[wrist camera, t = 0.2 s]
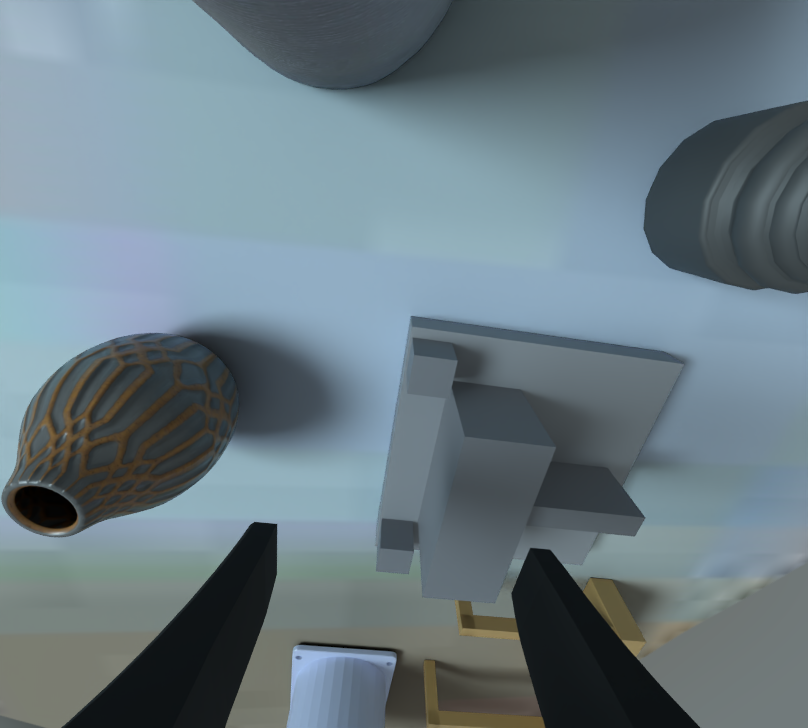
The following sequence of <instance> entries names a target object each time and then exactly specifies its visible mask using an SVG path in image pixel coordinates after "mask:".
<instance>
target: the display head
mask: <svg viewBox="0 0 808 728" xmlns="http://www.w3.org/2000/svg"><path fill="white" fill-rule="evenodd" d="M683 366H684V364H683V363H682V362H680V361H678V360H677V359H675V358H673V357H672V356H670V355H668V354H667V353H665V352H662V351H655V350H648V349H640V348H633V347H626V346H619V345H612V344H605V343H598V342H591V341H583V340H576V339H569V338H562V337H555V336H548V335H541V334H533V333H526V332H519V331H512V330H505V329H498V328H491V327H484V326H476V325H469V324H462V323H455V322H448V321H441V320H434V319H426V318H419V317H412V316H411V319H410V325H409V331H408V337H407V343H406V349H405V355H404V361H403V367H402V374H401V380H400V386H399V392H398V398H397V404H396V410H395V416H394V422H393V429H392V435H391V441H390V447H389V453H388V459H387V465H386V471H385V477H384V483H383V490H382V496H381V502H380V508H379V514H378V520H377V527H376V542H375V546H378V547H377V564H376V571H378V572H390V573H401V574H409V571H410V566H411V562H412V558H413V553H414V550H420V563H421V580H422V597H425V598H437V599H449V600H461V601H473V602H485V603H495V602H496V600H497V597H498V595H499V592H500V590H501V587H502V584H503V582H504V579H505V577H506V574H507V572H508V569H509V567H510V564H511V561H512V559H520V560H525V559H526V556H527V554H528V552H529V549H530V548H540V549H550V550H551V551H552V552H553V553H554V555H555V556H556V557H557V559H558V560H559V561H560V562H561V563H563V564H574V565H582V564H583V562H584V560H585V558H586V556H587V554H588V553H589V551H590V549H591V547H592V545H593V543H594V541H595V539H596V537H597V535H598V533H606V534H616V535H626V536H635V535H636V533H637V532H638V530H639V528H640V526H641V525H642V523H643V521H644V519H645V517H644V515H643V514H642V513H641V511H640V510H639V509H638V507H637V506H636V505H635V503H634V502H633V501H632V499H631V498H630V497H629V495H628V494H627V493H626V491H625V490H624V489H623V488H622V486H623V484H624V482H625V480H626V478H627V476H628V474H629V472H630V470H631V468H632V466H633V464H634V462H635V460H636V458H637V456H638V454H639V453H640V451H641V449H642V447H643V445H644V443H645V441H646V439H647V437H648V435H649V433H650V431H651V429H652V427H653V425H654V423H655V421H656V419H657V417H658V415H659V413H660V411H661V409H662V407H663V405H664V404H665V402H666V400H667V398H668V396H669V394H670V392H671V390H672V388H673V386H674V384H675V382H676V380H677V378H678V376H679V374H680V372H681V370H682V368H683Z"/></svg>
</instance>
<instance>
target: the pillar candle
mask: <svg viewBox="0 0 808 728" xmlns="http://www.w3.org/2000/svg"><path fill="white" fill-rule="evenodd" d="M193 1H194V2H195V3H196V4H197V5H198V6H199V7H200V8H201V9H203V10H204V11H205V12H206V13H207V14H209V15H210V16H211V17H212V18H213V19H214V20H215V21H216V22H218V23H219V24H220V25H221V26H222V27H223V28H224V29H225V30H226V31H227V32H229V33H230V34H231V35H232V36H233V37H234V38H235V39H236V40H237V41H238V42H239V43H240V44H241V45H242V46H243V47H245V48H246V49H247V50H248V51H249V52H251V53H252V54H253V55H254V56H255V57H257V58H258V59H260V60H261V61H262V62H264V63H265V64H266V65H267V66H269V67H270V68H271V69H273V70H275V71H276V72H278V73H280V74H282V75H284V76H285V77H287V78H290V79H292V80H295V81H298V82H300V83H303V84H306V85H309V86H313V87H318V88H328V89H349V88H355V87H360V86H365V85H369V84H372V83H374V82H376V81H378V80H380V79H382V78H384V77H386V76H387V75H389V74H391V73H392V72H394V71H395V70H396V69H398V68H399V67H400V66H401V65H402V64H404V63H405V62H406V61H407V60H408V59H410V58H411V57H412V56H413V55H414V54H416V53H417V52H418V51H419V50H420V49H421V48H422V46H423V45H424V44H425V43H426V42H427V41H428V39H429V38H430V36H431V35H432V34H433V32H434V31H435V30H436V28H437V27H438V25H439V24H440V22H441V21H442V19H443V18H444V16H445V14H446V12H447V11H448V9H449V7H450V5H451V3H452V0H193Z"/></svg>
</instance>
